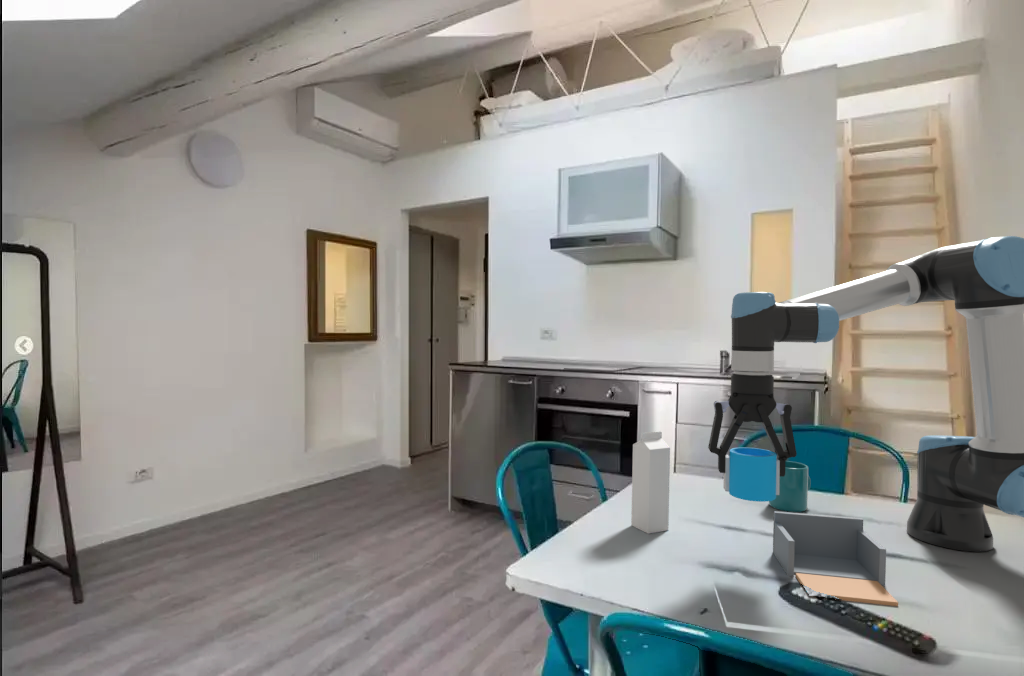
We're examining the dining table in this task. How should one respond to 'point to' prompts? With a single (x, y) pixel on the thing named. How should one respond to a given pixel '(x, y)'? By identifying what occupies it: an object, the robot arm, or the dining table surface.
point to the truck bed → (827, 547)
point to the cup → (793, 488)
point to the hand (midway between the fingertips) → (750, 491)
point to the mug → (752, 474)
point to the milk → (650, 483)
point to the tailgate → (848, 589)
